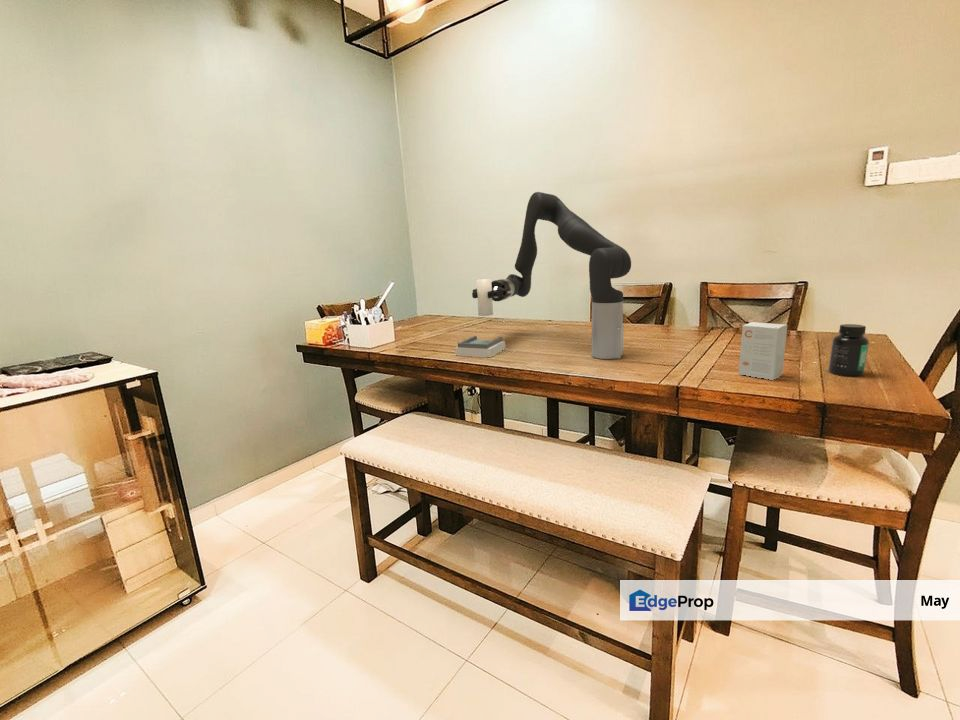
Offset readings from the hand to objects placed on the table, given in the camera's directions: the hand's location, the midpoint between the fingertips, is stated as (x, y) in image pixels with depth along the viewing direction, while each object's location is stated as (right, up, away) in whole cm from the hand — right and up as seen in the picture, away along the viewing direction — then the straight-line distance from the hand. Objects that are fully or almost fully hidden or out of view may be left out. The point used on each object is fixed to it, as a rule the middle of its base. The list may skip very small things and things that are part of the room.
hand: (481, 295), depth 147 cm
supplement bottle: (+91, -25, -37) cm, 101 cm away
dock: (0, -19, +6) cm, 20 cm away
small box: (+71, -26, -35) cm, 83 cm away
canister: (+2, -6, +4) cm, 7 cm away
